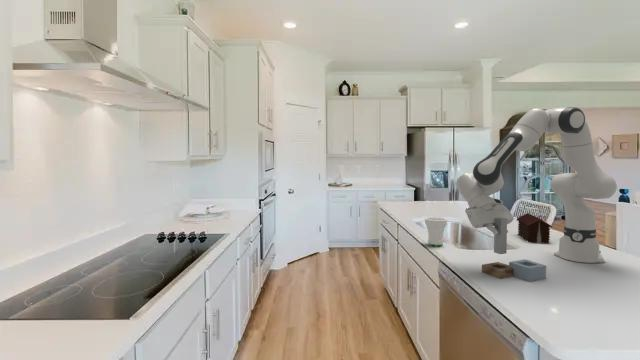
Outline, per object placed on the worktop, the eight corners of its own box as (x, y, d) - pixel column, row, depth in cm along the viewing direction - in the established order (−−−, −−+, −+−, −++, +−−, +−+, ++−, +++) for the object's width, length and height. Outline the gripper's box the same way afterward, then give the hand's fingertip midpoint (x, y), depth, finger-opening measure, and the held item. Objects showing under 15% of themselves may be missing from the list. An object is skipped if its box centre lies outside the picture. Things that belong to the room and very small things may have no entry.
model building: (551, 244, 190) (552, 216, 189) (527, 243, 193) (528, 215, 192) (537, 235, 210) (538, 210, 209) (516, 234, 213) (516, 209, 212)
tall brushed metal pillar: (493, 252, 144) (494, 218, 143) (499, 251, 145) (500, 217, 144) (500, 254, 141) (501, 219, 140) (506, 253, 142) (507, 218, 141)
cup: (420, 243, 193) (420, 217, 192) (437, 241, 197) (437, 216, 196) (433, 248, 182) (433, 221, 181) (451, 246, 186) (451, 219, 185)
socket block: (481, 271, 146) (481, 264, 146) (497, 268, 149) (497, 261, 149) (500, 278, 137) (500, 271, 137) (517, 275, 141) (517, 268, 141)
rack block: (508, 274, 142) (509, 262, 142) (524, 271, 146) (524, 259, 146) (529, 281, 134) (530, 268, 134) (545, 278, 138) (546, 265, 137)
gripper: (467, 203, 144) (487, 231, 136) (504, 199, 152) (524, 226, 143) (459, 212, 148) (477, 240, 140) (495, 208, 156) (514, 235, 148)
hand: (501, 233), depth 142 cm, fingers closed on tall brushed metal pillar, 3 cm apart
